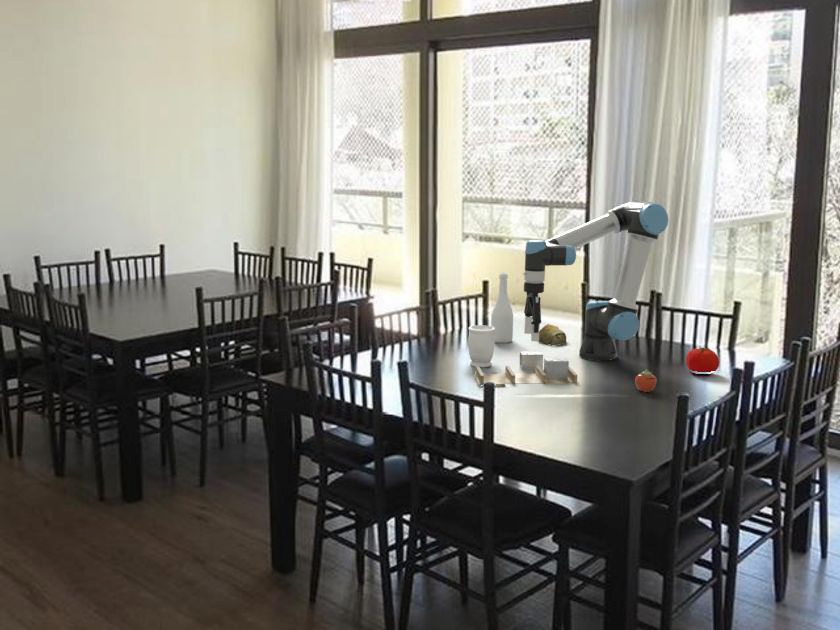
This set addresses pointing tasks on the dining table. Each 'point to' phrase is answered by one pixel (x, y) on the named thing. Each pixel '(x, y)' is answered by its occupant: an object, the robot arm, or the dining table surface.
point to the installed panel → (556, 368)
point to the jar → (481, 345)
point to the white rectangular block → (531, 360)
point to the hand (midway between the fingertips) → (531, 337)
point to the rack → (521, 377)
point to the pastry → (552, 335)
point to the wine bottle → (502, 314)
